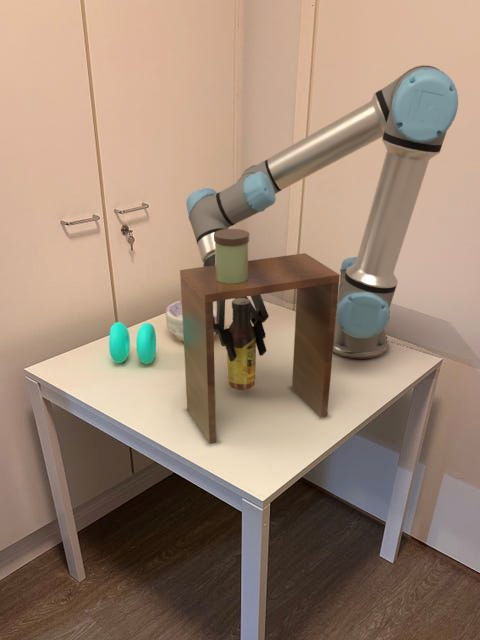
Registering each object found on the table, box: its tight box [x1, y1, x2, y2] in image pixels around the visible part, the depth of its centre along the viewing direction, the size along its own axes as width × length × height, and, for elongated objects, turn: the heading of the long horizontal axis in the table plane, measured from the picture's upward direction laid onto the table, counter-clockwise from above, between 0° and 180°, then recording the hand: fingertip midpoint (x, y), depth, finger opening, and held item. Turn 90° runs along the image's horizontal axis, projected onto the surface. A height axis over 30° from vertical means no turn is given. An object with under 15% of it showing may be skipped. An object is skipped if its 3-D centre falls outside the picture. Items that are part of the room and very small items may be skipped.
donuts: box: [108, 321, 157, 365], centre depth 155 cm, size 10×10×10 cm
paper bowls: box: [165, 299, 217, 343], centre depth 168 cm, size 15×15×8 cm
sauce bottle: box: [226, 298, 257, 391], centre depth 137 cm, size 7×6×20 cm
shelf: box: [179, 252, 340, 444], centre depth 129 cm, size 27×14×32 cm, turn 113°
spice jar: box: [214, 228, 250, 284], centre depth 115 cm, size 6×6×8 cm
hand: (248, 356), depth 135 cm, fingers closed on sauce bottle, 6 cm apart
